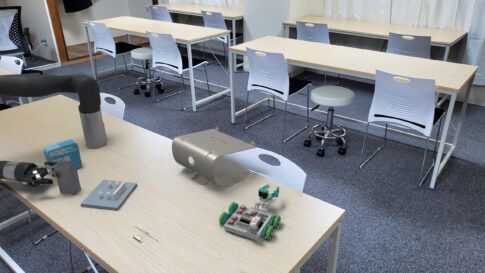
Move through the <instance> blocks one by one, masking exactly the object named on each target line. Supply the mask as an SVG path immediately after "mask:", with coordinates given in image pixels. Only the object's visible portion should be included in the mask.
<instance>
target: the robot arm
mask: <svg viewBox="0 0 485 273" xmlns="http://www.w3.org/2000/svg"><path fill="white" fill-rule="evenodd" d="M100 91H101V90H100V86H99V83H98V82H97V80H96V79H95V78H93V77H91V76H89V75H87V74H83V73H77V74H69V75H68V74H65V75H52V74H38V73H37V74H36V73H35V74H34V73H15V74H0V95H3V96H8V97H15V98H17V97H18V98H42V97H47V96H52V95H54V94H59V93H61V94H62V93H69V94H78V100H79V104H78V108H77V109H78V113H79V118H80V123H81V126H82V132H83V137H84V143H85V146H86V148H87V149H99V148H102V147H104V146H106V145H107V141H108V137H107V132H106V131H107V130H106V126H105V123H104V121H103V115H102V109H101V108H102V107H101V104H102V99H101V92H100ZM56 163H58V162H47V161H45V162H44V163H43V165H37V164H36V163H35V162H29V161H15V160H13V161H9V160H0V180H5V181H12V182H20V183H22V185H23V187H30V188H38V187H39V186H42V185H46V186H47V185H48V186H49V185H50V186H52V185H53V184H54V180H53V178H48V177H46V176H49V175H52V173H53V172H55V170H52V169H54V165H55V164H56Z"/></svg>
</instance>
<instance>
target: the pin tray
mask: <svg viewBox="0 0 485 273" xmlns="http://www.w3.org/2000/svg"><path fill="white" fill-rule="evenodd" d="M137 187H138V183H137V182H129V181H119V180H110V179H102V180H101V182H100V183H99V184H98V185H97V186H95V187H94V189H93V190H92V191H91V192H90V193H89V194H88V195H87V196H86V197H85V198H84V199H83V200H82V201H81V202H80V207H82V208H83V207H84V208H90V209H98V210H99V209H100V210H110V211H116V212H117V211H119V210H120V208H122V206H123V205H124V203H125V202H126V201H127V199H128V198H129V197H130V196H131V194H132V193H134V191H135V189H136V188H137Z"/></svg>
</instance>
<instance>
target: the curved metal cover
mask: <svg viewBox="0 0 485 273" xmlns="http://www.w3.org/2000/svg"><path fill="white" fill-rule="evenodd" d="M171 142H172V143H171V154H172V157H173V160H174V161H175V162H176V163H177V164H178V165H180V166H182V167H184V168H186V169H187V170H189V171H191V172H193V173H195V175H194V176H192V177H191V178H190V180H191V181H192V182H194V183H196V184H197V185H201V186H203V185H206V184H207V183H209V182H210V183H211V182H212V183H213V184H214V185H216V186H219V187H230V186H233V185H235V184H237V183H239V182H241V181H243V180H244V179H247V178H248V177H249V176H250V175H251V173H252V172H251V171H250V170H249V169H248V168H246V167H245V166H243V165H241V164H239V163H237V162H235V161H234V160H231V159H229V158H227V157H224V156H228V155H231V154H236V153H241V152H244V151H248V150H252V149H256V145H255V144H256V143H255V142H254V141H250V143H248V142H246V141H244V140H241V139H239V138H237V137H234V136H231V135H229V134H226V133H224V132H222V131H219V127H217V126H215V127H214V128H210V129H206V130H201V131H197V132H191V133H188V134H183V135H178V136H176V137H174V138H173V140H172V141H171ZM189 158H192V160H193V162H190V159H189Z"/></svg>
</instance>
